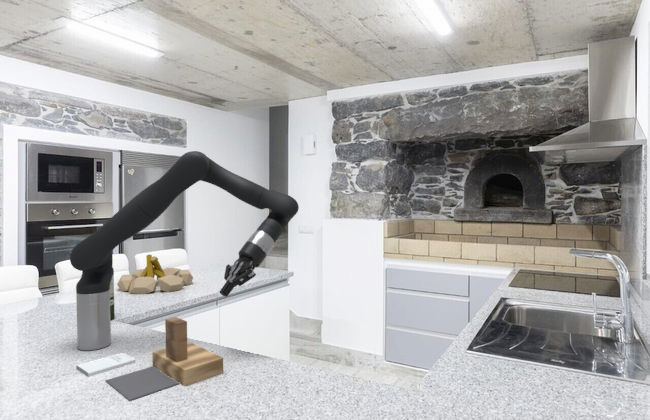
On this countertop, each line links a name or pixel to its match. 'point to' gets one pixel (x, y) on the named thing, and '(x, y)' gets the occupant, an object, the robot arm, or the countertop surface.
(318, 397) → the countertop surface
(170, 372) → the wooden block
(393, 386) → the countertop surface
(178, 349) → the brown wood brick
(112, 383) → the mat
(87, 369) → the external hard drive
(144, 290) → the campfire
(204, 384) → the countertop surface
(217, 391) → the countertop surface
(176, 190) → the robot arm
